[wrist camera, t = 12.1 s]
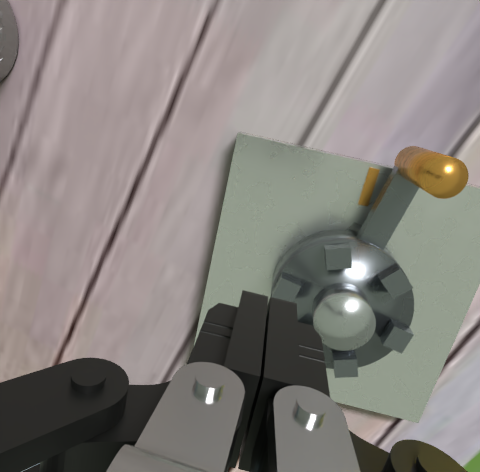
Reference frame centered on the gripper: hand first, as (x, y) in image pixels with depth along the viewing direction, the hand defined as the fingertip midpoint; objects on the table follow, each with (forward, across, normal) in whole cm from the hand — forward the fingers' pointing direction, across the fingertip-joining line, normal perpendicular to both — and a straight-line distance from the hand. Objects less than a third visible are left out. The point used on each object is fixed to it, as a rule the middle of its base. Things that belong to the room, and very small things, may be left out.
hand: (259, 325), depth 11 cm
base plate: (+25, -7, +8) cm, 27 cm away
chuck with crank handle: (+23, -8, +4) cm, 24 cm away
